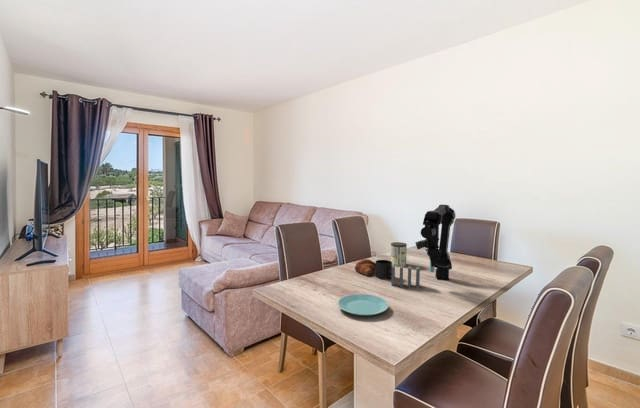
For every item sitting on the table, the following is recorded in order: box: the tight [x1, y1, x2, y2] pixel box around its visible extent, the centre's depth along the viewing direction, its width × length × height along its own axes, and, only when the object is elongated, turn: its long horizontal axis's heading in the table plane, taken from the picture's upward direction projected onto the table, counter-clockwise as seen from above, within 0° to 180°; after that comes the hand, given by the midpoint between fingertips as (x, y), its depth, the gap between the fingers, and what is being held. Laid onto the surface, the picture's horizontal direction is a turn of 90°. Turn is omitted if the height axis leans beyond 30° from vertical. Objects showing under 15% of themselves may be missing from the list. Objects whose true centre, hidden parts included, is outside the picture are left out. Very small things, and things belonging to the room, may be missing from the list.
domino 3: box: [407, 265, 412, 288], centre depth 164 cm, size 2×5×10 cm, turn 165°
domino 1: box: [391, 265, 396, 287], centre depth 166 cm, size 2×5×10 cm, turn 165°
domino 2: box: [399, 266, 404, 288], centre depth 165 cm, size 2×5×10 cm, turn 165°
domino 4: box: [415, 266, 421, 289], centre depth 163 cm, size 2×5×10 cm, turn 165°
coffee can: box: [390, 241, 408, 267], centre depth 206 cm, size 10×10×14 cm
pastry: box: [354, 258, 376, 277], centre depth 190 cm, size 17×15×8 cm
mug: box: [374, 259, 392, 280], centre depth 178 cm, size 9×12×9 cm
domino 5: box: [429, 260, 435, 273], centre depth 160 cm, size 2×5×10 cm, turn 165°
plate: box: [337, 293, 390, 317], centre depth 135 cm, size 22×22×3 cm
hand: (432, 265), depth 161 cm, fingers closed on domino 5, 5 cm apart
